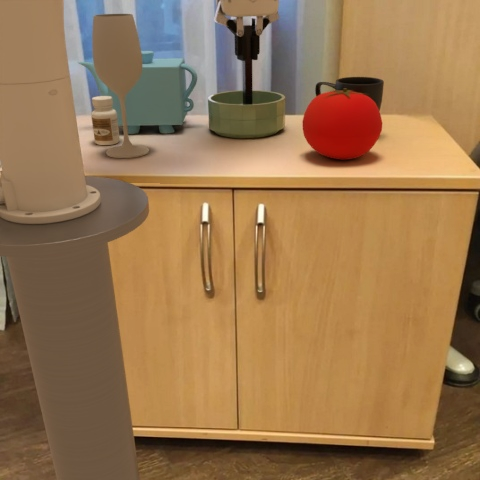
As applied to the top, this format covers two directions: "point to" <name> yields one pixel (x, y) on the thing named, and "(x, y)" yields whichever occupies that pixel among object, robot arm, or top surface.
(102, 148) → the top surface
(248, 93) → the square post on disc
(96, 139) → the pill bottle
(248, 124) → the bowl
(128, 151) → the wineglass
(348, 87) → the mug
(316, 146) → the tomato
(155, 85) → the teapot
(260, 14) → the robot arm
